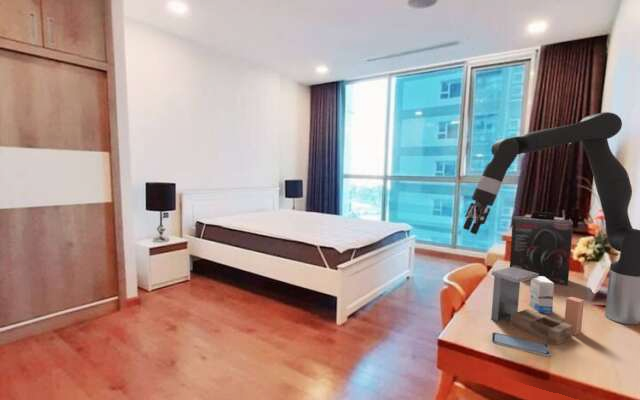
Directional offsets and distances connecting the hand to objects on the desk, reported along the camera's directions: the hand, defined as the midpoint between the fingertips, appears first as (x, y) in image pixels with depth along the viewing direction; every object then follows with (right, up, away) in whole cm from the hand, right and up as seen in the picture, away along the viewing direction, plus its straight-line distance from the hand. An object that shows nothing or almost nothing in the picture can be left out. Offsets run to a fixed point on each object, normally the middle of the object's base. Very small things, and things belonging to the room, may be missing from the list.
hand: (469, 231), depth 124 cm
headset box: (+53, -27, +41) cm, 72 cm away
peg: (+28, -32, -14) cm, 45 cm away
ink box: (+29, -30, +4) cm, 42 cm away
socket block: (+17, -32, -15) cm, 39 cm away
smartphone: (+5, -33, -23) cm, 40 cm away
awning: (+12, -31, -7) cm, 34 cm away
